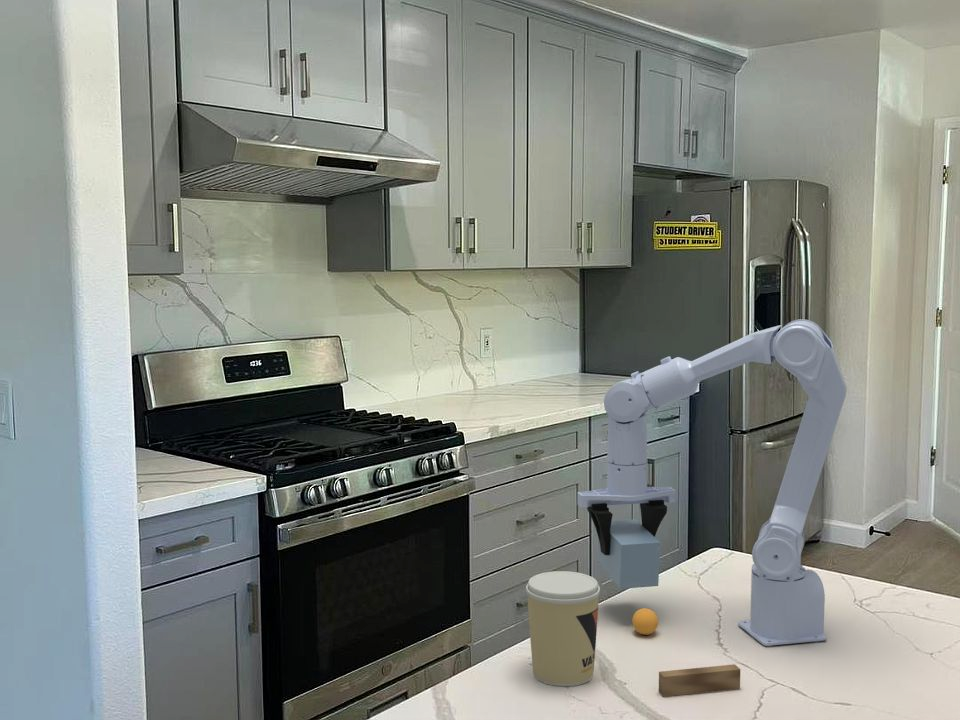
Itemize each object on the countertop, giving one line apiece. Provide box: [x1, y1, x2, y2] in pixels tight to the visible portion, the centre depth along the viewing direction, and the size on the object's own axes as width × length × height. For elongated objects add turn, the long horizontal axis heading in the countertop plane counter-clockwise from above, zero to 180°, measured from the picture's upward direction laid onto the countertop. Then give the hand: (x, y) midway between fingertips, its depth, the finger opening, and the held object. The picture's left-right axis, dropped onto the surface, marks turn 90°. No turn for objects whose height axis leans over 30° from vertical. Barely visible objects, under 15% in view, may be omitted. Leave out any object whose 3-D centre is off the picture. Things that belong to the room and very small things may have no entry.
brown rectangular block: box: [658, 663, 741, 698], centre depth 116 cm, size 10×2×2 cm, turn 102°
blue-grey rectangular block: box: [597, 518, 661, 590], centre depth 140 cm, size 6×10×7 cm, turn 12°
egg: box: [631, 607, 659, 636], centre depth 134 cm, size 4×4×4 cm
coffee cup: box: [525, 570, 601, 687], centre depth 121 cm, size 9×9×12 cm
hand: (626, 551), depth 141 cm, fingers closed on blue-grey rectangular block, 6 cm apart
